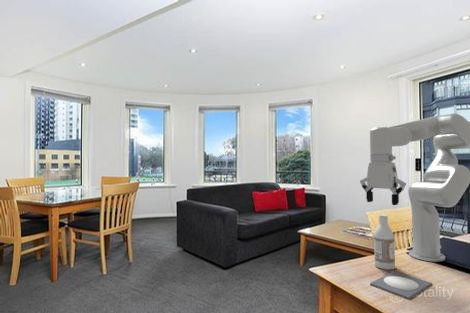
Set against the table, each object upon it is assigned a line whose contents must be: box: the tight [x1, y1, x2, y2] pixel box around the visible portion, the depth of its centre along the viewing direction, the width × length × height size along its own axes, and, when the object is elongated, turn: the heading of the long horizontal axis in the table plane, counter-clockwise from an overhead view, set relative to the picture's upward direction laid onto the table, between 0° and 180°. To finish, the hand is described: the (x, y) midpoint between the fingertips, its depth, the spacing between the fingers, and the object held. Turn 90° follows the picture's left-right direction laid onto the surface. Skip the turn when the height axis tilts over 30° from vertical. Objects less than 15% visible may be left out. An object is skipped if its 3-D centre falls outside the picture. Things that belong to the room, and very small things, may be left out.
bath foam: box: [373, 214, 396, 271], centre depth 107 cm, size 7×7×20 cm
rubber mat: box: [369, 271, 433, 300], centre depth 92 cm, size 16×12×1 cm
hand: (382, 203), depth 107 cm, fingers open, 9 cm apart
